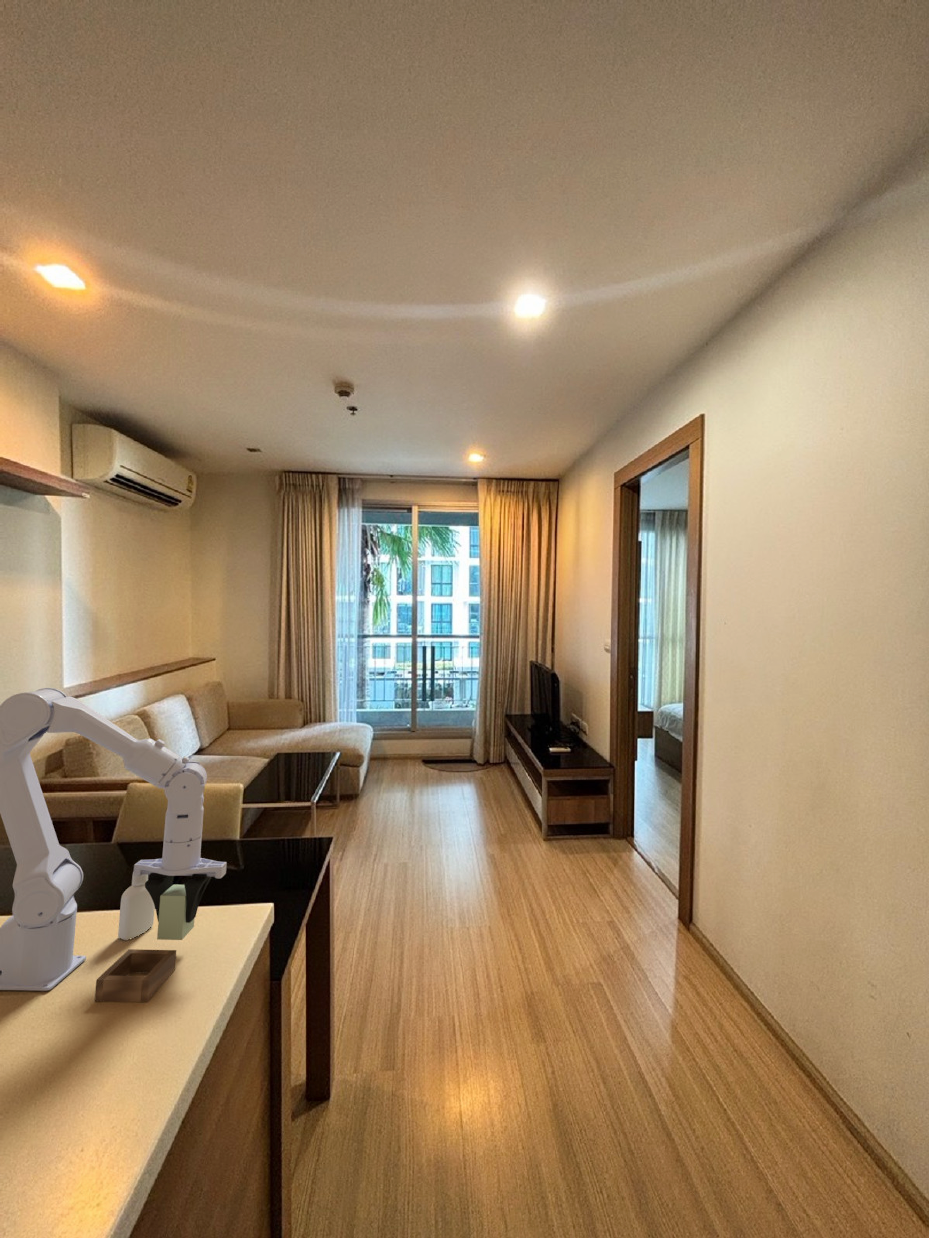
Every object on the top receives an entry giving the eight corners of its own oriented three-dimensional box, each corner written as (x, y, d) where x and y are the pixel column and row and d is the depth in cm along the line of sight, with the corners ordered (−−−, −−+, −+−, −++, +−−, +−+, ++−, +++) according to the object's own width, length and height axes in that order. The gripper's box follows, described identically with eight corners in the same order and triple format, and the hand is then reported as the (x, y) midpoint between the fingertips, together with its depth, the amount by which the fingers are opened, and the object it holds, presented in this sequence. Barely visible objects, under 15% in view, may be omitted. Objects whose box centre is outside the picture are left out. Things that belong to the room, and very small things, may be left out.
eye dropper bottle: (115, 932, 91) (120, 863, 91) (151, 922, 94) (156, 856, 95) (119, 943, 87) (124, 872, 88) (156, 932, 91) (161, 863, 92)
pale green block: (157, 939, 83) (160, 895, 84) (170, 926, 87) (173, 884, 88) (181, 939, 84) (185, 896, 84) (193, 926, 88) (196, 884, 88)
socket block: (94, 1001, 73) (96, 979, 74) (127, 968, 81) (128, 949, 81) (147, 1001, 74) (149, 980, 74) (175, 969, 81) (176, 950, 81)
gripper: (235, 829, 91) (230, 908, 90) (153, 827, 90) (147, 905, 89) (218, 844, 84) (212, 929, 83) (128, 842, 83) (121, 927, 82)
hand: (177, 919), depth 86 cm, fingers closed on pale green block, 4 cm apart
